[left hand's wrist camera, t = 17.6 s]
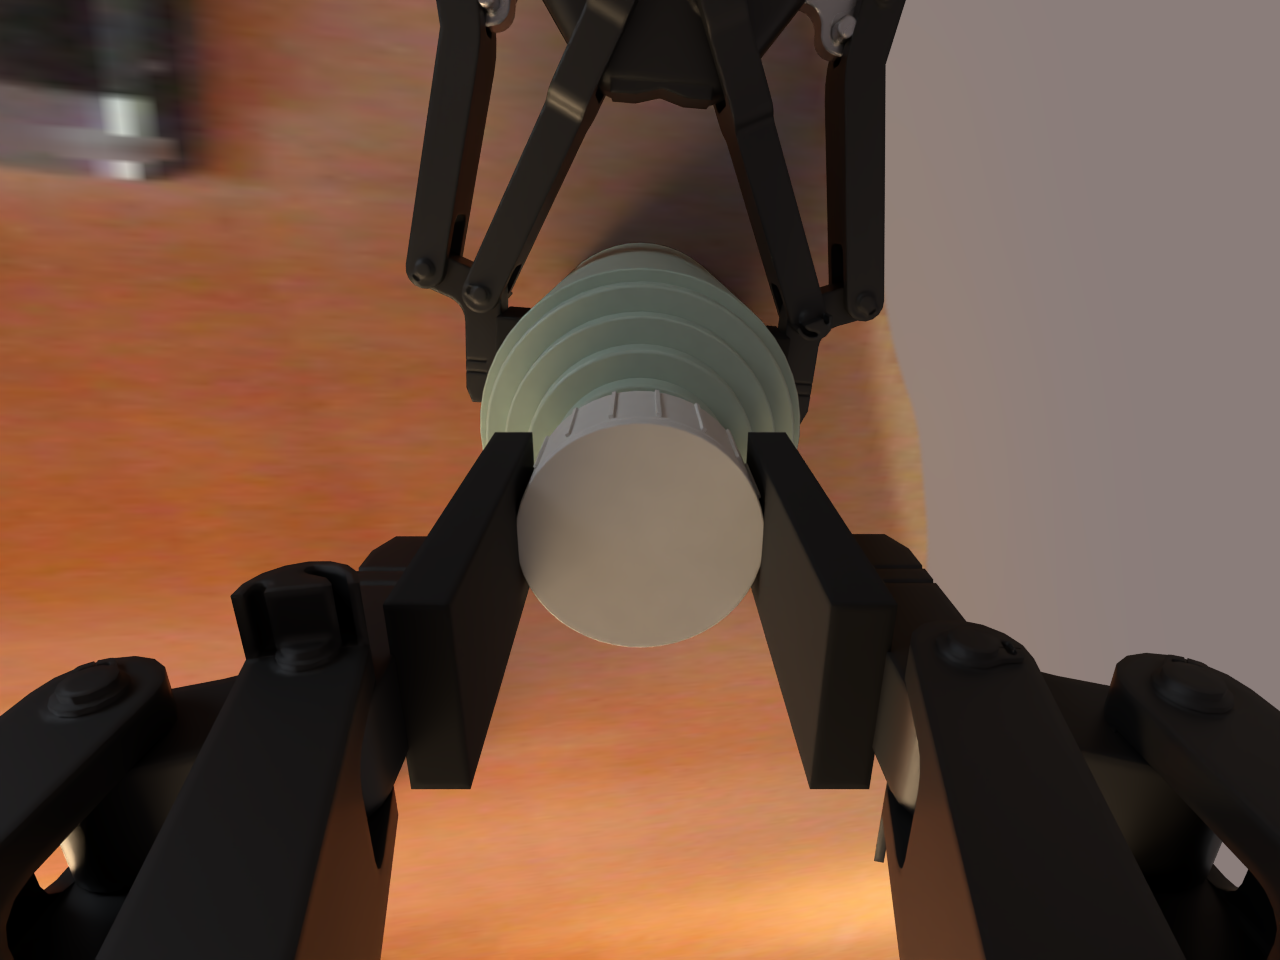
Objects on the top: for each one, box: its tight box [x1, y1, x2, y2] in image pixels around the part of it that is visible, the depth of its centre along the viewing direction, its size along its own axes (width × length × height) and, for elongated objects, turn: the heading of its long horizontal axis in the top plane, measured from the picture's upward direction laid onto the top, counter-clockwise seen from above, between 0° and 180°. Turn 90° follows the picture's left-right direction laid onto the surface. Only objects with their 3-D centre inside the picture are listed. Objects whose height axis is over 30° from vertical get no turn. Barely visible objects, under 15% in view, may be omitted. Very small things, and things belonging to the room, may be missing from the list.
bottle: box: [480, 243, 800, 464], centre depth 22 cm, size 8×8×19 cm
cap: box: [517, 390, 764, 647], centre depth 13 cm, size 4×4×2 cm
